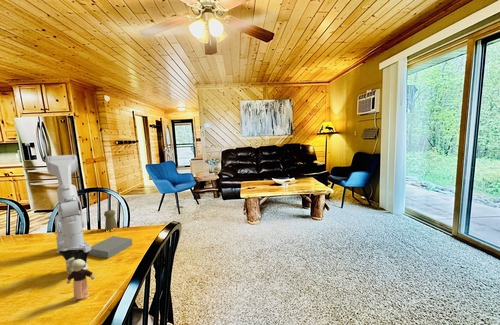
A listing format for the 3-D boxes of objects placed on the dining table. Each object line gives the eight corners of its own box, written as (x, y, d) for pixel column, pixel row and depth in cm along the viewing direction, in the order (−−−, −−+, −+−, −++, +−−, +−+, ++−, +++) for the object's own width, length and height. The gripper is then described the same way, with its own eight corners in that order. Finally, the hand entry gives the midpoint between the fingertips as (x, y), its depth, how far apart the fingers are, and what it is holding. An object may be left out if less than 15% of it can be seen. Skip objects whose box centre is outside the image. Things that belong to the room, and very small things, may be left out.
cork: (111, 232, 115) (109, 212, 114) (102, 231, 117) (100, 212, 115) (120, 227, 121) (118, 208, 120) (111, 226, 123) (109, 208, 121)
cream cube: (67, 273, 79) (65, 260, 78) (80, 266, 83) (78, 254, 83) (75, 275, 78) (73, 262, 77) (88, 268, 82) (86, 256, 81)
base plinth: (88, 254, 93) (87, 248, 92) (113, 241, 104) (112, 235, 104) (108, 258, 89) (107, 251, 89) (132, 244, 100) (131, 238, 100)
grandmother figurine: (64, 305, 64) (59, 266, 62) (69, 297, 67) (64, 259, 66) (95, 297, 67) (91, 259, 65) (98, 289, 70) (94, 253, 69)
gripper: (47, 235, 77) (52, 269, 79) (74, 239, 73) (79, 276, 74) (68, 227, 84) (73, 259, 85) (95, 231, 79) (99, 265, 81)
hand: (77, 266), depth 80 cm, fingers closed on cream cube, 4 cm apart
